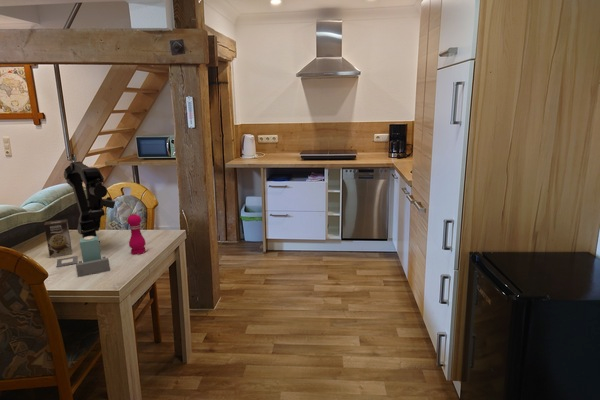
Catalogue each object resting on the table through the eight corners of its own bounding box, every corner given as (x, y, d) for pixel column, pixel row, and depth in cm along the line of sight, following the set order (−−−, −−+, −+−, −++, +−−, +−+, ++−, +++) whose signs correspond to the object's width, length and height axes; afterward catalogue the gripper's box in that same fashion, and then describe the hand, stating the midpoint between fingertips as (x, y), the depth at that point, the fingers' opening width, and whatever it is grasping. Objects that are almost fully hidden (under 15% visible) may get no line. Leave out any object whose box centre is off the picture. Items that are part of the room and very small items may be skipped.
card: (57, 260, 178) (57, 259, 178) (77, 256, 182) (77, 255, 182) (56, 267, 170) (56, 266, 170) (77, 263, 174) (77, 262, 174)
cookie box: (49, 258, 181) (43, 224, 178) (50, 254, 187) (44, 221, 183) (72, 254, 185) (66, 221, 182) (72, 250, 191) (67, 218, 187)
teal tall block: (83, 264, 171) (79, 237, 168) (101, 261, 175) (97, 234, 172) (84, 269, 166) (79, 240, 163) (102, 265, 170) (98, 237, 167)
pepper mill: (133, 250, 189) (127, 209, 184) (148, 249, 189) (143, 209, 185) (128, 255, 182) (122, 214, 177) (144, 254, 182) (138, 213, 178)
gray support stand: (77, 268, 169) (75, 257, 167) (108, 262, 174) (106, 251, 173) (77, 277, 159) (75, 265, 158) (110, 270, 165) (108, 259, 164)
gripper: (114, 196, 179) (118, 228, 182) (111, 189, 195) (115, 219, 198) (86, 199, 174) (92, 233, 177) (85, 192, 189) (90, 223, 193)
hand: (98, 226), depth 187 cm, fingers open, 3 cm apart
